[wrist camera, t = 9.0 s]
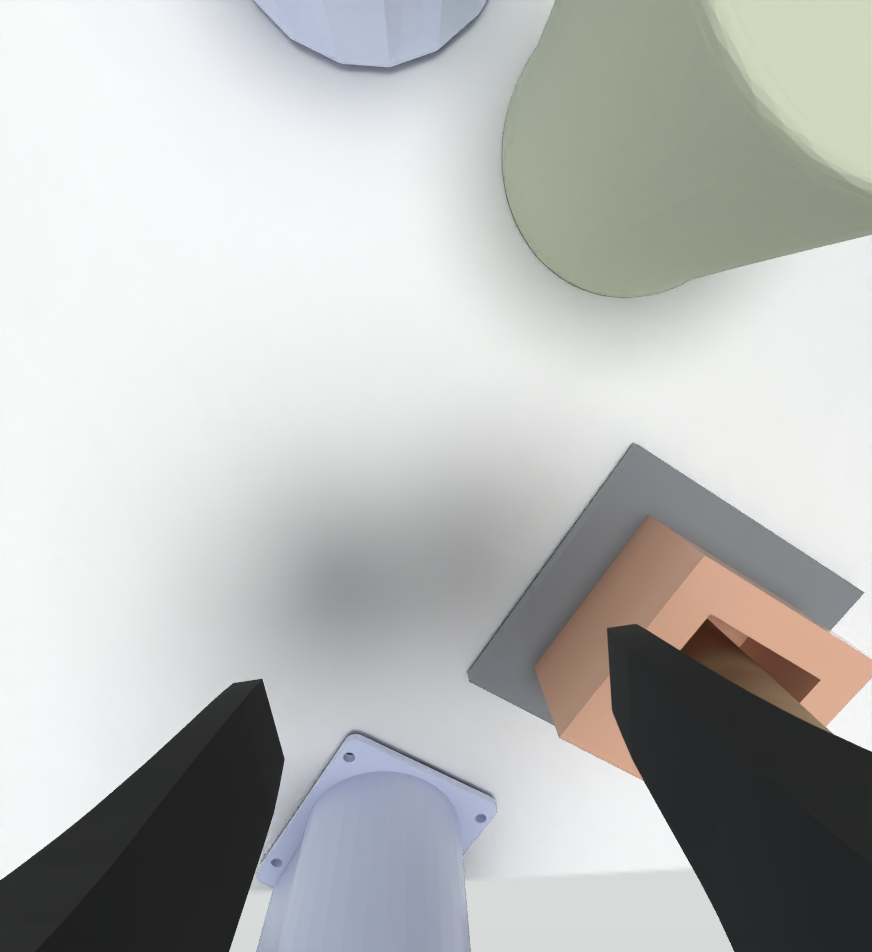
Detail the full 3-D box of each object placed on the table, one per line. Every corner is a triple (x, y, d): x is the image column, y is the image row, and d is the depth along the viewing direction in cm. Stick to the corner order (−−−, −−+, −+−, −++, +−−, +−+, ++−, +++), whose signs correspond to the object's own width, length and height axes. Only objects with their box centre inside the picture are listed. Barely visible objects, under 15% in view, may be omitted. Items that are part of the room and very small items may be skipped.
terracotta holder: (677, 781, 23) (737, 880, 19) (467, 672, 21) (480, 754, 17) (852, 585, 21) (965, 648, 17) (633, 442, 19) (696, 471, 15)
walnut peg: (679, 694, 21) (839, 902, 13) (614, 659, 20) (741, 856, 12) (732, 630, 20) (934, 810, 12) (666, 592, 19) (834, 756, 12)
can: (805, 9, 16) (1914, -963, 4) (733, 310, 18) (1306, 243, 6) (522, -33, 15) (861, -1288, 4) (485, 283, 17) (617, 154, 6)
